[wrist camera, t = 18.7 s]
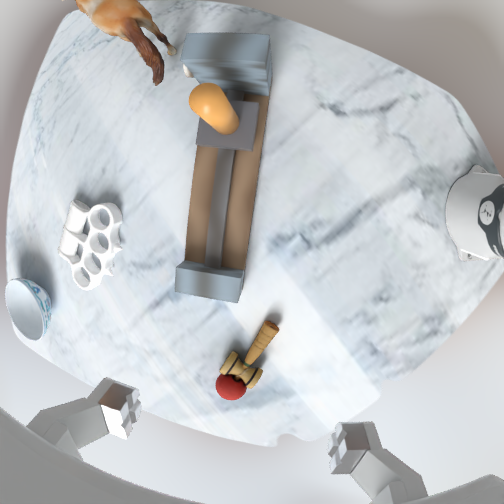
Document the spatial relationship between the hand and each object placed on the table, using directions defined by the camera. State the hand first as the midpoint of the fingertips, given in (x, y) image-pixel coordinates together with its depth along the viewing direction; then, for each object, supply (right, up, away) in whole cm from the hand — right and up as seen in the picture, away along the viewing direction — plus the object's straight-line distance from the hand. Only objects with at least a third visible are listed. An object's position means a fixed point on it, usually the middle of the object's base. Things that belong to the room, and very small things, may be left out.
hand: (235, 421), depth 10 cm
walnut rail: (-3, +18, +34) cm, 39 cm away
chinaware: (-50, -5, +44) cm, 67 cm away
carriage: (-3, +25, +29) cm, 39 cm away
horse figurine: (-23, +45, +30) cm, 59 cm away
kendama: (0, -13, +42) cm, 44 cm away
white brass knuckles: (-30, +9, +40) cm, 50 cm away
